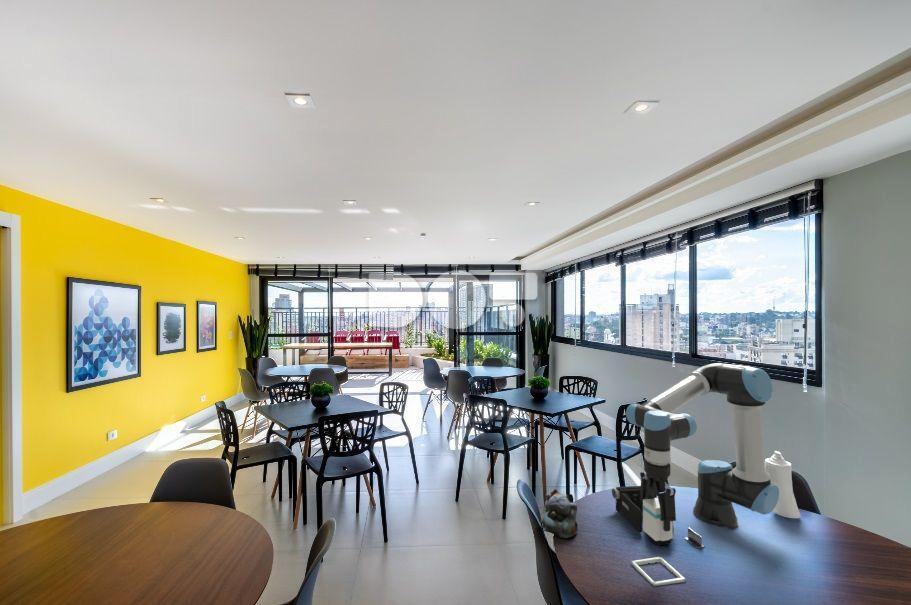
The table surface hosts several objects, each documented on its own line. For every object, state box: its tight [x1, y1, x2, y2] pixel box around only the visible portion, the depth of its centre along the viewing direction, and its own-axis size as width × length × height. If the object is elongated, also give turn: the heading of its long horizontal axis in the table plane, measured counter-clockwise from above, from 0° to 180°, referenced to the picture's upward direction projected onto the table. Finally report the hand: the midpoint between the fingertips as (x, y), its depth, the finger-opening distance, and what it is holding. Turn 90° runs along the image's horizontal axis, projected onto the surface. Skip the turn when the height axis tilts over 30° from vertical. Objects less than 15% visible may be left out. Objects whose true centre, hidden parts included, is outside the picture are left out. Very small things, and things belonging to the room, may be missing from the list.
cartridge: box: [642, 497, 674, 541], centre depth 129 cm, size 6×6×10 cm
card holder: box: [684, 527, 706, 549], centre depth 146 cm, size 3×6×4 cm, turn 11°
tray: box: [630, 556, 686, 587], centre depth 129 cm, size 11×11×2 cm
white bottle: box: [764, 450, 802, 519], centre depth 167 cm, size 12×11×25 cm
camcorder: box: [611, 485, 658, 534], centre depth 162 cm, size 20×18×10 cm
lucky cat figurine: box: [540, 488, 579, 539], centre depth 155 cm, size 15×12×14 cm
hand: (657, 533), depth 129 cm, fingers closed on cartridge, 6 cm apart
